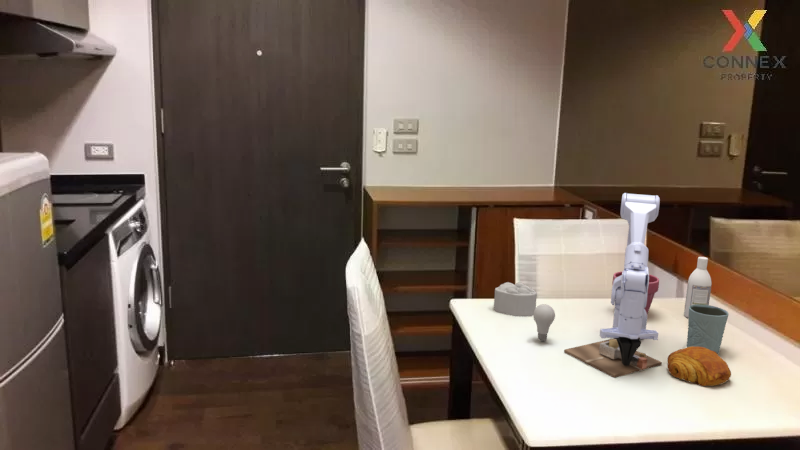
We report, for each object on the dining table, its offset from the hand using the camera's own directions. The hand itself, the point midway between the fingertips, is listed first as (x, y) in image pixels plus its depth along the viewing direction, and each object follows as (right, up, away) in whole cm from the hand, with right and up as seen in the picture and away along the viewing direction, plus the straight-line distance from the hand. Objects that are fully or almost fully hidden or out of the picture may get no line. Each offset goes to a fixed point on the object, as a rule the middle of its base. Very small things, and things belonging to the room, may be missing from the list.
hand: (625, 364), depth 175 cm
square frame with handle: (+1, 0, +3) cm, 4 cm away
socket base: (-1, 0, +7) cm, 7 cm away
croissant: (+18, -3, -2) cm, 19 cm away
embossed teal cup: (+27, +1, +15) cm, 31 cm away
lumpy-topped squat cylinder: (-21, +8, +43) cm, 49 cm away
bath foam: (+37, +6, +42) cm, 56 cm away
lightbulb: (-18, +3, +18) cm, 25 cm away
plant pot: (+17, +7, +43) cm, 47 cm away
